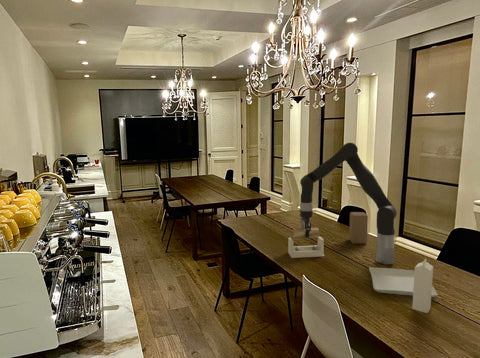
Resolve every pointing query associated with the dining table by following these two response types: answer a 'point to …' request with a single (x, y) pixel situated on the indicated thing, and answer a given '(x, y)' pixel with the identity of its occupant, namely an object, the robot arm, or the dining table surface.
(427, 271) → the milk
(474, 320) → the dining table surface
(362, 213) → the wooden block
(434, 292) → the square plate
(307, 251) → the peg cradle
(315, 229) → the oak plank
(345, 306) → the dining table surface
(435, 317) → the dining table surface
